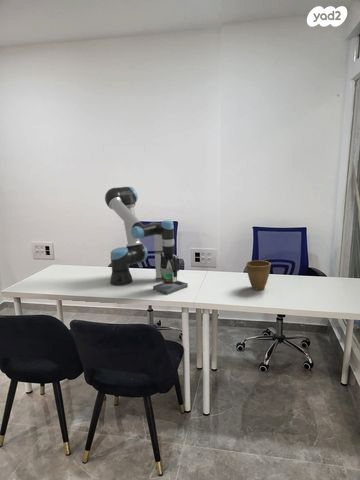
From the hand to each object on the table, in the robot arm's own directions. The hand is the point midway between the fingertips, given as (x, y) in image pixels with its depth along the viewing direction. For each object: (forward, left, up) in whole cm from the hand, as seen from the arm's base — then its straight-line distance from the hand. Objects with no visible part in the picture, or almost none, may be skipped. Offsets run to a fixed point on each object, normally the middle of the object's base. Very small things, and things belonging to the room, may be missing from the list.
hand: (170, 280), depth 219 cm
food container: (0, 0, -2) cm, 2 cm away
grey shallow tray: (0, 0, -6) cm, 6 cm away
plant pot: (+42, +36, -6) cm, 55 cm away
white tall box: (-18, +12, -6) cm, 23 cm away
